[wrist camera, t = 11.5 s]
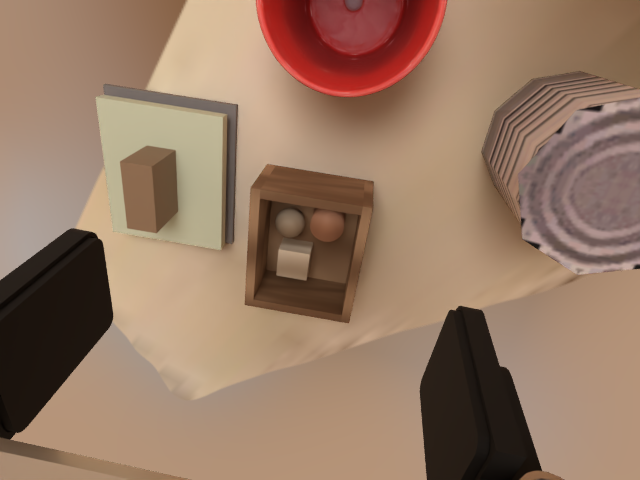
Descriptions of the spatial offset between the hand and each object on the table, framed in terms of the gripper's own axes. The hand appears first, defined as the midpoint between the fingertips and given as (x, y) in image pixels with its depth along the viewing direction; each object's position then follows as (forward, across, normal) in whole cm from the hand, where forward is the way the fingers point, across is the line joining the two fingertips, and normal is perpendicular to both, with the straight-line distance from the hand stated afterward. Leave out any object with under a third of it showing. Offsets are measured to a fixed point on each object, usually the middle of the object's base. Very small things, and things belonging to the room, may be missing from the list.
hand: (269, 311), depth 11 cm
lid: (+26, +15, +10) cm, 32 cm away
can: (+29, -17, +1) cm, 34 cm away
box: (+28, +1, +13) cm, 31 cm away
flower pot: (+29, +1, -7) cm, 30 cm away
